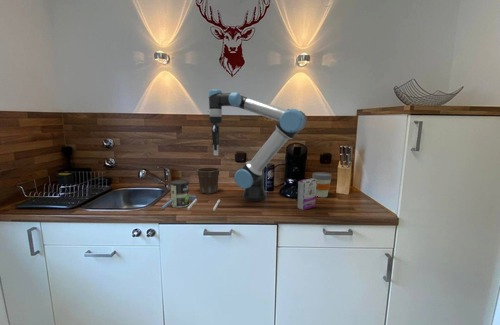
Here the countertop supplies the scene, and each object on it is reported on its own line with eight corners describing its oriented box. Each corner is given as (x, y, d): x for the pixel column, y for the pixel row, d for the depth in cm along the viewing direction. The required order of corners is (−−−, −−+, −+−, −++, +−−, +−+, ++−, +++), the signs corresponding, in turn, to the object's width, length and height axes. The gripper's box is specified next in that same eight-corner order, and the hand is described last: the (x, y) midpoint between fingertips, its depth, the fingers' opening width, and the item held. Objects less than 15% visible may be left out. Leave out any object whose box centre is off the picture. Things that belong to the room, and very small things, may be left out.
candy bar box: (309, 204, 143) (310, 178, 141) (316, 206, 139) (317, 179, 137) (296, 208, 137) (297, 180, 134) (303, 210, 133) (304, 182, 130)
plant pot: (194, 190, 171) (193, 168, 169) (215, 187, 179) (215, 166, 176) (200, 196, 157) (200, 172, 155) (223, 193, 165) (223, 170, 162)
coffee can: (192, 202, 144) (191, 180, 142) (184, 208, 134) (183, 184, 132) (176, 201, 146) (176, 179, 144) (167, 207, 136) (166, 183, 134)
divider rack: (220, 200, 149) (220, 196, 148) (214, 210, 131) (214, 206, 130) (173, 199, 150) (173, 195, 150) (161, 209, 133) (161, 204, 132)
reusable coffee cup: (327, 199, 153) (329, 176, 151) (308, 196, 160) (309, 174, 157) (332, 194, 164) (333, 173, 161) (314, 191, 170) (315, 171, 168)
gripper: (211, 116, 149) (212, 153, 153) (206, 116, 136) (207, 156, 140) (223, 116, 149) (223, 154, 152) (219, 116, 136) (220, 156, 140)
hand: (216, 155), depth 146 cm, fingers closed
